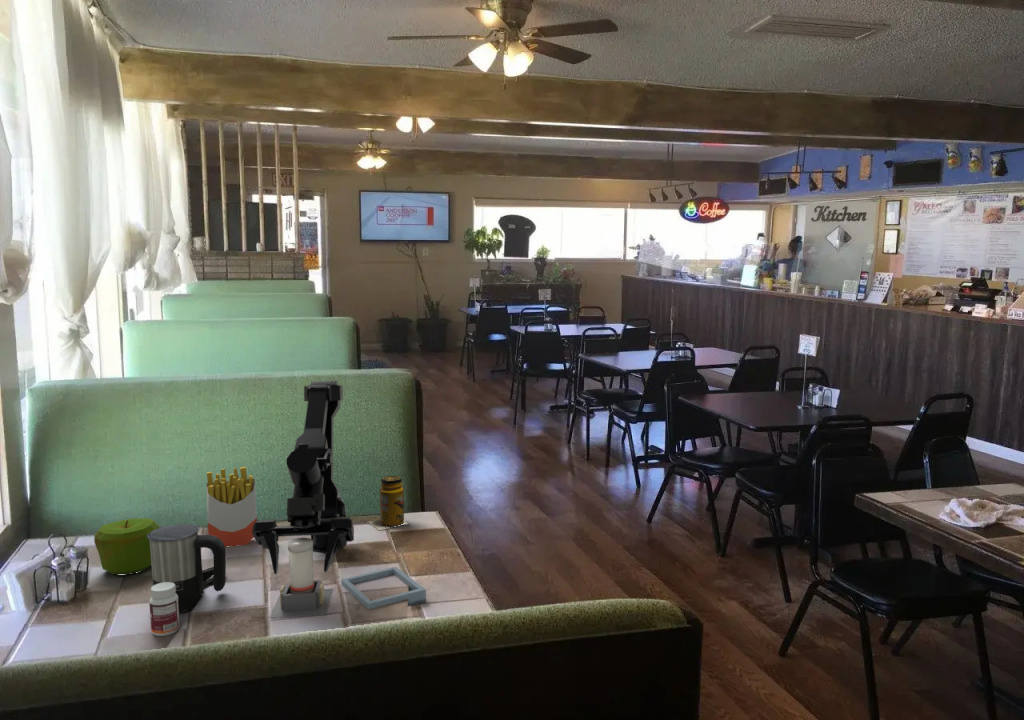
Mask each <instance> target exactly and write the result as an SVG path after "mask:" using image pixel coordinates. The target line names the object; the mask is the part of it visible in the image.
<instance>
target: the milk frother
mask: <svg viewBox="0 0 1024 720" xmlns="http://www.w3.org/2000/svg"><path fill="white" fill-rule="evenodd" d="M199 531H200V527H199V526H197V525H193V524H186V523H183V524H173V525H167V526H164V527H159V529H156V530H154V531H152V532H150V533H149V534H148V535H147V537H148V539H150V551H151V574H152V584H153V585H152V586H154V585H156V584H158V583H163V582H172V583H174V584H175V589H176V592H175V593H176V594H177V595H178V603H179V614H181V613H184V612H188V611H191V610H194V609H195V608H196V606H197V605H198V604H199V602H200V601H201V600H202V598H203V594H204V591H205V589H207V588H208V587H209V586H211V585H213V589H214V591H215V592H219V591H222V590H223V589H224V588H225V585H226V574H227V573H226V572H227V570H226V564H227V560H226V559H227V555H226V554H227V552H226V547H225V545H224V543H223V542H222V540H221V539H219V538H218V537H216V536H213V535H208V534H199ZM202 548H203V549H204V548H205V549H209V550H211V552H212V556H213V566H212V567H211V566H210V567H209V568H205V569H203V563H202V562H203V559H202V558H203V557H202Z"/></svg>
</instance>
